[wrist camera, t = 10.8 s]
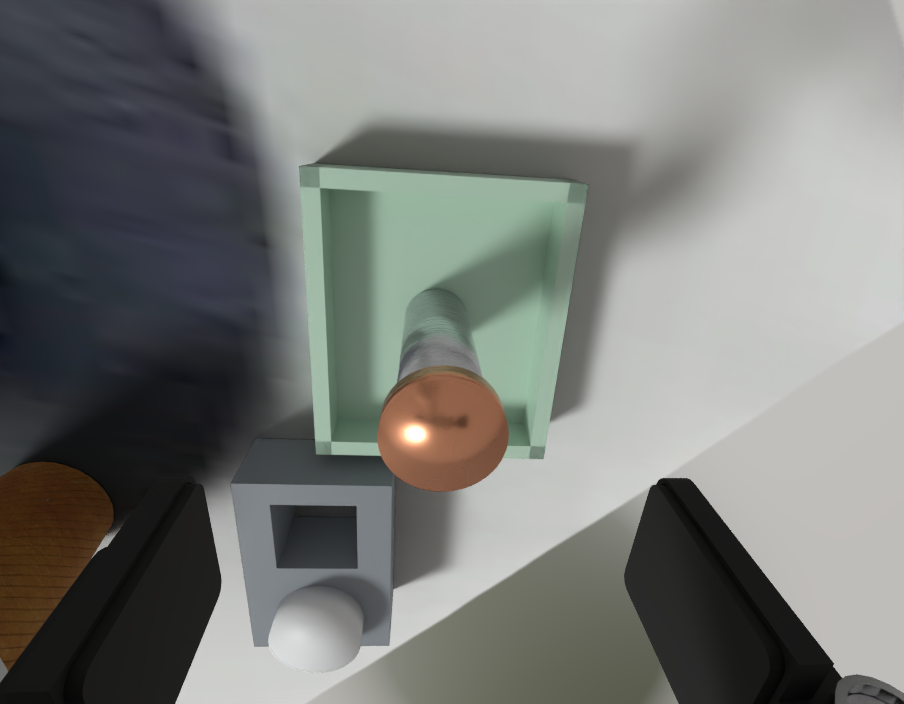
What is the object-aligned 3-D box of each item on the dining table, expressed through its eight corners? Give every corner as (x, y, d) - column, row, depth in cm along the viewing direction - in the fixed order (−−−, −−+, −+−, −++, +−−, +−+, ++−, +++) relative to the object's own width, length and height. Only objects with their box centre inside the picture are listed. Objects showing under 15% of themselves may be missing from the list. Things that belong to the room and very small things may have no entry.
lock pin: (397, 278, 24) (377, 377, 14) (478, 282, 24) (515, 382, 14) (396, 352, 25) (377, 490, 15) (471, 355, 26) (501, 492, 16)
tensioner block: (256, 438, 28) (217, 505, 23) (396, 441, 28) (389, 508, 23) (273, 589, 33) (245, 673, 27) (393, 589, 33) (387, 672, 28)
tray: (313, 163, 22) (299, 165, 20) (570, 179, 23) (588, 184, 20) (326, 425, 28) (315, 454, 25) (532, 430, 29) (543, 459, 26)
